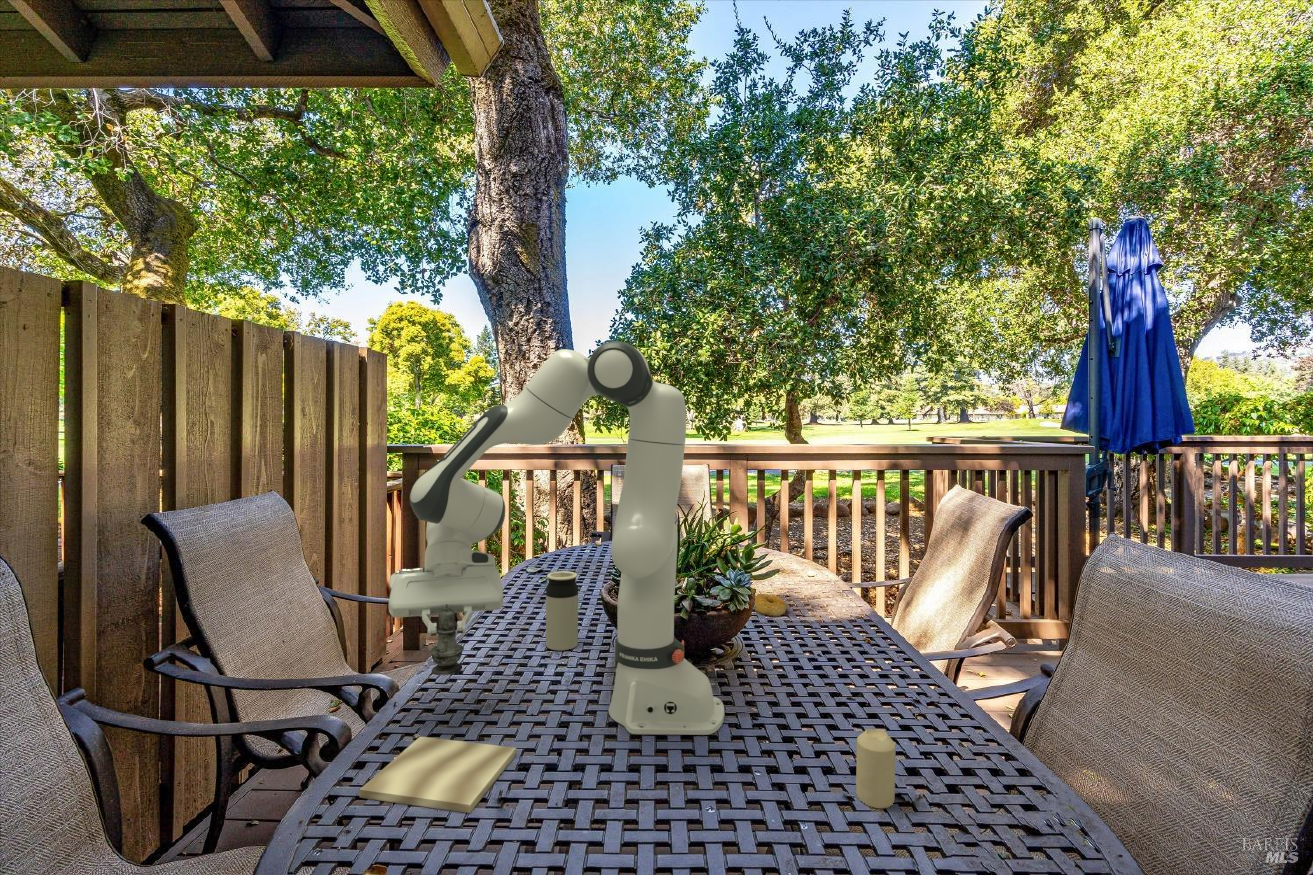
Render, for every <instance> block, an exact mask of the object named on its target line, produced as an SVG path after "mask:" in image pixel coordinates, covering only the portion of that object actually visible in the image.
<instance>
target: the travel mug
mask: <svg viewBox="0 0 1313 875" xmlns="http://www.w3.org/2000/svg"><path fill="white" fill-rule="evenodd" d="M546 577H547V580H548V583H547V586H546V587H545V646H546V647H547V649H550V650H552V651H560V652H563V651H569V649H570V650H572V649H575V648H576V647H577V646H578V645H579V586H578V584H577V582H576V581H577V577H578V574H577V573H576V572H574V571H569V570H568V571H567V570H564V571H562V570H559V571H552V572H549V573H548V574H547V575H546Z"/></svg>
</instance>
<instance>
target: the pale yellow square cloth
mask: <svg viewBox="0 0 1313 875" xmlns="http://www.w3.org/2000/svg"><path fill="white" fill-rule="evenodd" d="M516 756H517V747H513V746H504V745H496V744H488V743H478V742H471V741H469V742H468V741H462V740H461V741H460V740H453V739H444V738H437V737H436V738H435V737H430V736H429V737H427V736H419V737H418V738H417V739H416V740H414V741H413V742H412V743H410V745H408V747H406V748H405V749H404V750H402V752H400V753H399V754H398V755H397V756H396V757H395V758H394V759H393V760H391V762H389V763H388V764H387V765H385V766H384V767H383V768H382V769H381V770H380V771H379V772H377V774H375V775H374V776H373V777H372V778H371V779H370V780H369V781H367V782H366V783H365V784H364V785H363V786H362V787H360V789H358V790H359V791H358V792H359V793H358V794H359V798H360V799H361V798H362V799H367V800H368V799H369V800H374V801H375V800H376V801H382V802H390V803H397V804H402V805H412V806H417V807H425V808H431V809H439V810H444V811H445V810H446V811H453V812H459V813H467V814H471V812H472V811H473V810H474V809H475V808H476V806H477V805H478V804H479V803H480V802H481V800H482V799H483V798H484V796H485V795H486V794H485V793H488V791H489V790H490V789H491V787H492V786H493V785H494V784H495V782H496V781H497V780H498V778H500V776H501V775H500V774H502V773H503V772H504V771H505V769H507V767H508V766H509V765H510V763H511V762H512V761H513V760H514V758H515V757H516ZM484 794H485V795H484Z"/></svg>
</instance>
